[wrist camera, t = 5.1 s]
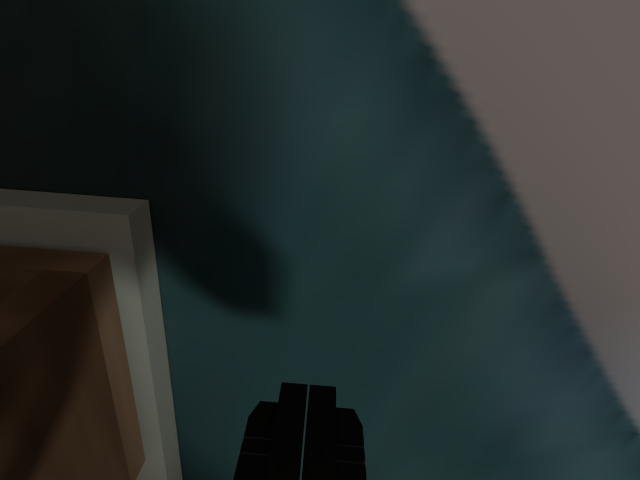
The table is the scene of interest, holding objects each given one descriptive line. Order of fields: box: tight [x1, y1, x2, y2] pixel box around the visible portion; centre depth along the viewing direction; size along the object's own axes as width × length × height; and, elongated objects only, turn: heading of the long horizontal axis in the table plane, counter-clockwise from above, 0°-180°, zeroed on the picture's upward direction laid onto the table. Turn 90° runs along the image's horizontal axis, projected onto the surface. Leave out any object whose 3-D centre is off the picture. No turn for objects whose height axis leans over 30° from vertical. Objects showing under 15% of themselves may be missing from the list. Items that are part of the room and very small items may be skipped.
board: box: [0, 189, 183, 480], centre depth 16 cm, size 12×23×1 cm, turn 176°
